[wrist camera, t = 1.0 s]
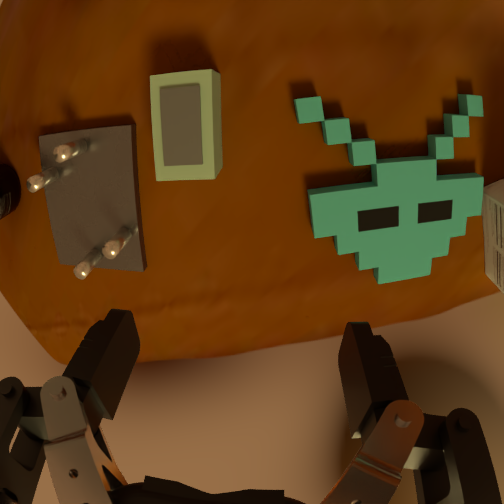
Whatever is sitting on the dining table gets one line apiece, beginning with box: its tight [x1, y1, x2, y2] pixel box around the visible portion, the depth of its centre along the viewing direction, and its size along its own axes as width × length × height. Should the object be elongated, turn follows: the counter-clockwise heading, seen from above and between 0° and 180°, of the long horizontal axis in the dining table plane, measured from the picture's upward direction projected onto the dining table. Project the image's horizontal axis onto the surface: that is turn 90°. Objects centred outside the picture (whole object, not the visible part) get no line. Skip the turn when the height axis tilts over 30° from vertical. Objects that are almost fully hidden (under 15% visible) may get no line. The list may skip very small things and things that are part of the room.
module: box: [150, 69, 223, 181], centre depth 25 cm, size 9×5×5 cm, turn 0°
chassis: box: [27, 124, 147, 279], centre depth 29 cm, size 16×12×5 cm
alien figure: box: [294, 94, 484, 284], centre depth 28 cm, size 20×2×20 cm
